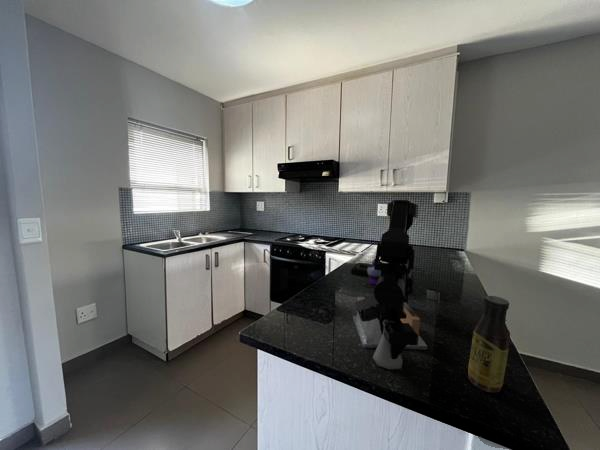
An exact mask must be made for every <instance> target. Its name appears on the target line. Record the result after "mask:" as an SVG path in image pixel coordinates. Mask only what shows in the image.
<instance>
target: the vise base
mask: <svg viewBox="0 0 600 450" xmlns="http://www.w3.org/2000/svg"><path fill="white" fill-rule="evenodd" d="M362 299H366V298H365V296H357V301H359V300H362ZM352 319H353V322H354V326H355V328H356V330H357V334H358V335H359V336H358V337H359V340H360V343H361V345H362V348H368V349H370V348H371V349H377V347H378V345H379V343H380V340H381V338H382V334H381V330H380V325H379V320H378V319H377V318H376V319H374V320H371V321H365V322H363V321H361V319H360V316H359V313H358V311H357V310H356V315H353V317H352ZM403 350H423V351H424V350H426V351H427V350H428V345H427V344H426V342H425V341H424V340H423V338H422V337H421V336H420V335H419V340H418V344H417V345H407V346H406V347H405V348H404V349H403Z"/></svg>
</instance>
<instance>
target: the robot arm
mask: <svg viewBox="0 0 600 450" xmlns="http://www.w3.org/2000/svg"><path fill="white" fill-rule="evenodd" d="M386 216H387V217H388V218H389V223H388V229H387V230H386V231H385V232H383V233H382V235H381V238H380V242H379V241H378V242H377V244H376V252H375V258H374V259H375V265H374V270H381V273H380V277H379V280H378V282H377V284H376V286H374V289H373V295H372V296H370V297H367V298H365V299H362V300H359V301H358V300H357V301H356V302H354V304H355V307H356V312H357V311H358V313H359V316H360V319H361V321H363V322H365V321H371V320H374V319H376V318H377V319H378V320H379V325H380V330H381V334H382V335H383V334H384V336H385V338H386V340H387V341H388V343H389V344H390V353H391V358H392V359H397V357H398V356H399V355H400V354H402V352H403V351H404V350H405V349H404V348H405V347H406V346H407V345H417V344H418V337H419V336H420V335H419V336H418V334H417V333H416V331H415V330H414V329H413V327H412V326H411V325H410V324H409V323H402V322H401V319H406V313H405V312H404V302H406V303H407V304H408V305H409V295H411V294H413V293H414V283H415V282H414V281H413V279H412V278H413V277H411V270H414V265H415V249H414V246H413V245H412V244H410V235H409V234H408V231H409V229H410V228H411V227H412V226H413V225H414V218H415V219H416V218H417V217H416V216H417V204H416V203H415V202H414V203H413V202H411V201H410V200H408V199H394V200H391V202H388V203H387V207H386ZM379 259H380V261H381V262H382V263H379ZM378 263H379V265H378ZM384 320H385V321H390V323H388V324H387V325H386V326H384V325H383V321H384ZM383 331H384V332H385V333H383Z"/></svg>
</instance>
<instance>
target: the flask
mask: <svg viewBox="0 0 600 450" xmlns="http://www.w3.org/2000/svg"><path fill="white" fill-rule="evenodd" d="M388 323H390V321H385V320H384V321H383V325H384V326H386V325H387V324H388ZM383 333H385V332H384V331H383ZM372 359H373V360H374V362H375V363H376V366H379V367H380V368H384V369H387V370H400V369H402V367H403V363H404V360H403V357H402V353H400V355H399V356H398V357H397V359H392V358H391V353H390V344H389V343H388V341H387V340H386V338H385V336H384V334H383V335H382V338H381V340H380V343H379V345H378V347H377V348H375V351H374V354H373V356H372Z"/></svg>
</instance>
